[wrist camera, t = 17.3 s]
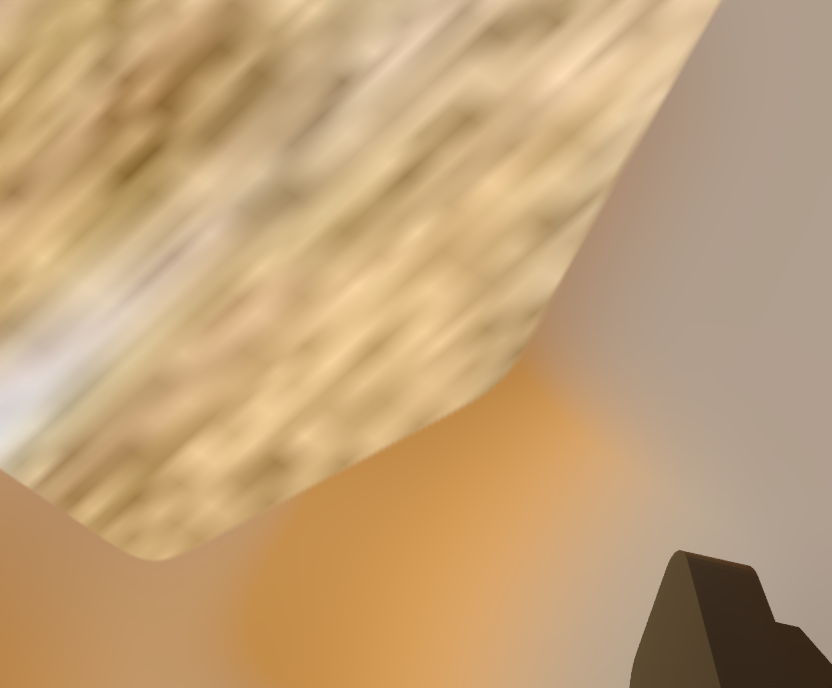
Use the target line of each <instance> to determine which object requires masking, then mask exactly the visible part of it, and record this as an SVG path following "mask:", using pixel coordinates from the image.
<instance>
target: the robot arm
mask: <svg viewBox="0 0 832 688" xmlns="http://www.w3.org/2000/svg"><path fill="white" fill-rule="evenodd" d="M630 688H832V664H831V663H830V662H829V661H828V659H827V658H826V657H825V656H824V655H823V654H822V653H821V652H820V650H819V649H818V648H817V647H816V646H815V645H814V643H813V642H812V641H811V640H810V639H809V638H808V637H807V636H806V634H805V633H804V632H803V631H802V630H801V629H800V628H799V627H795V626H791V625H787V624H782V623H778V622H775V620H774V617H773V614H772V612H771V609H770V606H769V604H768V601H767V599H766V596H765V593H764V591H763V588H762V586H761V583H760V580H759V578H758V576H757V573H756V571H755V570H754V569H753V568H752V567H751V566H748V565H744V564H739V563H734V562H730V561H725V560H721V559H716V558H712V557H707V556H703V555H699V554H694V553H690V552H685V551H681V550H679V551H677V552H675V553H674V555H673V556H672V557H671V559H670V561H669V563H668V566H667V568H666V571H665V574H664V577H663V579H662V582H661V585H660V588H659V591H658V594H657V597H656V599H655V602H654V605H653V608H652V611H651V613H650V616H649V619H648V622H647V625H646V627H645V631H644V633H643V636H642V639H641V642H640V644H639V648H638V650H637V653H636V656H635V659H634V663H633V668H632V673H631V680H630Z"/></svg>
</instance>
